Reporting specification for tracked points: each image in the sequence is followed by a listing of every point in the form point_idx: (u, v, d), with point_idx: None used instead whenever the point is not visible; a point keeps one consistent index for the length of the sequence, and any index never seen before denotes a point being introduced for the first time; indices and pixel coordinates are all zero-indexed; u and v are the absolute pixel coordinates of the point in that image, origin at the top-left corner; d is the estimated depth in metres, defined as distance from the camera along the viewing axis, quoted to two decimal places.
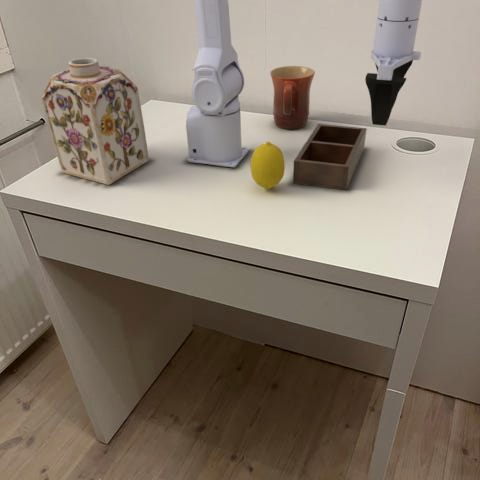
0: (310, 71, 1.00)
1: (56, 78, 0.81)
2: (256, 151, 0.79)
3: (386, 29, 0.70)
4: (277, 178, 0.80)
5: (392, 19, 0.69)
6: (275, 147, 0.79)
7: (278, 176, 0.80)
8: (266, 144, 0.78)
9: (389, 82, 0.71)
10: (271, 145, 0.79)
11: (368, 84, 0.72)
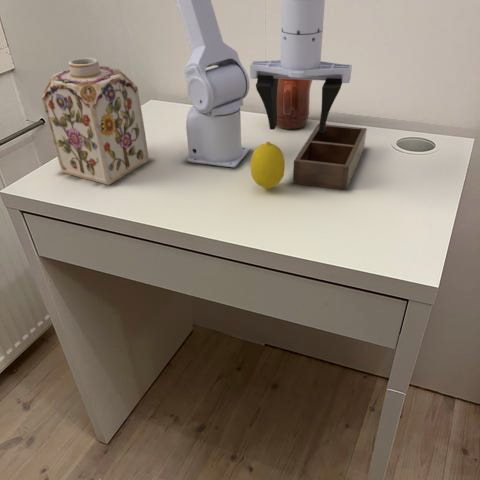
0: None
1: (56, 78, 0.81)
2: (256, 151, 0.79)
3: None
4: (277, 178, 0.80)
5: (286, 31, 0.68)
6: (275, 147, 0.79)
7: (278, 176, 0.80)
8: (266, 144, 0.78)
9: None
10: (271, 145, 0.79)
11: None
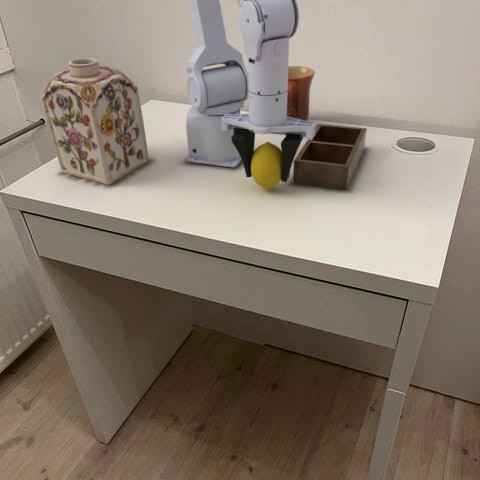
0: (310, 71, 1.00)
1: (56, 78, 0.81)
2: (256, 151, 0.79)
3: None
4: (277, 178, 0.80)
5: (250, 90, 0.73)
6: (275, 147, 0.79)
7: (279, 177, 0.80)
8: (266, 144, 0.78)
9: None
10: (271, 145, 0.79)
11: None
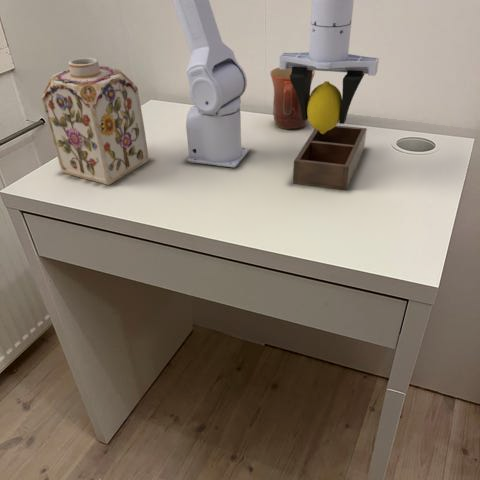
0: None
1: (56, 78, 0.81)
2: (314, 91, 0.77)
3: None
4: (335, 119, 0.78)
5: (320, 24, 0.70)
6: (334, 87, 0.77)
7: (336, 118, 0.78)
8: (325, 83, 0.76)
9: None
10: (330, 84, 0.77)
11: None
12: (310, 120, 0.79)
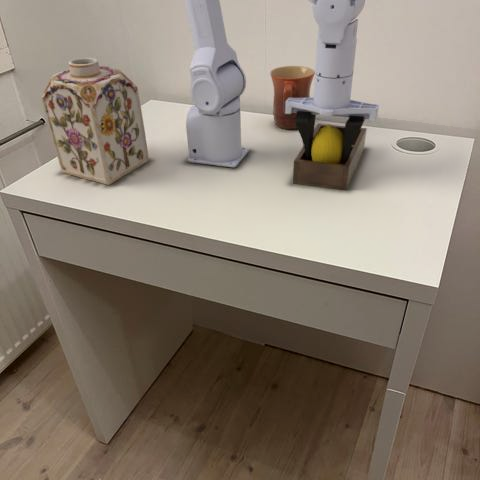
0: (310, 71, 1.00)
1: (56, 78, 0.81)
2: (318, 133, 0.82)
3: None
4: (337, 160, 0.83)
5: (325, 76, 0.74)
6: (337, 130, 0.81)
7: (339, 158, 0.83)
8: (328, 127, 0.81)
9: None
10: (333, 128, 0.81)
11: None
12: (314, 160, 0.84)
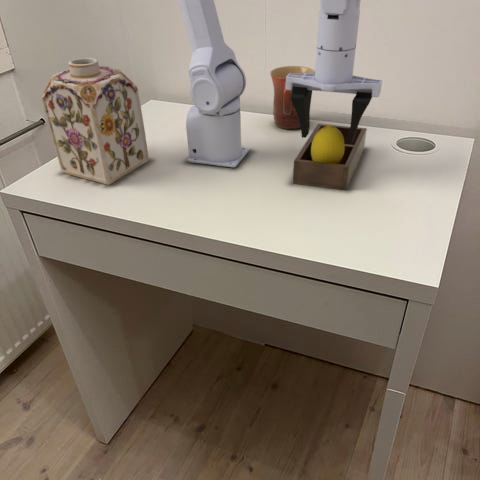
0: (310, 71, 1.00)
1: (56, 78, 0.81)
2: (318, 133, 0.82)
3: None
4: (337, 160, 0.83)
5: (327, 48, 0.72)
6: (337, 130, 0.81)
7: (339, 158, 0.83)
8: (328, 127, 0.81)
9: None
10: (333, 128, 0.81)
11: None
12: (314, 160, 0.84)
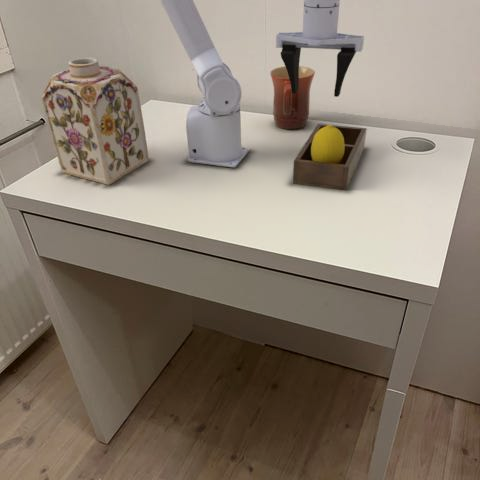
0: (310, 71, 1.00)
1: (56, 78, 0.81)
2: (318, 133, 0.82)
3: None
4: (337, 160, 0.83)
5: (324, 6, 0.79)
6: (337, 130, 0.81)
7: (339, 158, 0.83)
8: (328, 127, 0.81)
9: None
10: (333, 128, 0.81)
11: None
12: (314, 160, 0.84)
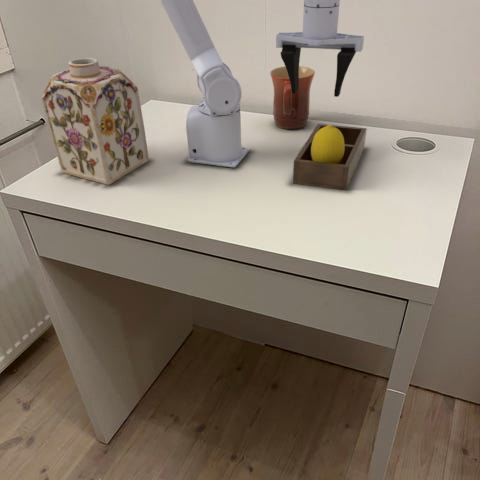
0: (310, 71, 1.00)
1: (56, 78, 0.81)
2: (318, 133, 0.82)
3: None
4: (337, 160, 0.83)
5: (324, 6, 0.79)
6: (337, 130, 0.81)
7: (339, 158, 0.83)
8: (328, 127, 0.81)
9: None
10: (333, 128, 0.81)
11: None
12: (314, 160, 0.84)
